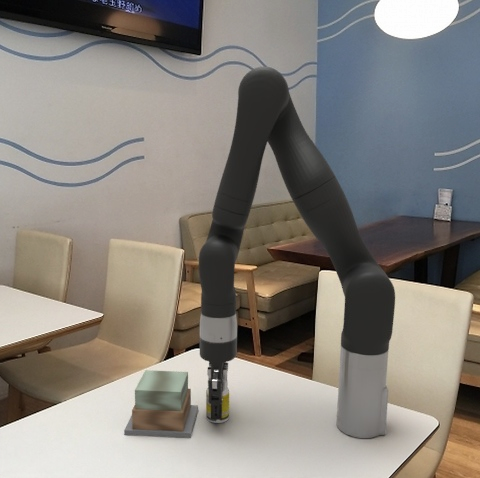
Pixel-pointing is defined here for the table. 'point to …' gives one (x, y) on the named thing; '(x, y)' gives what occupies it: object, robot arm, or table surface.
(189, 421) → the baseplate
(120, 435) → the table surface
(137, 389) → the brick tower
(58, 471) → the table surface
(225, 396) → the supplement bottle
